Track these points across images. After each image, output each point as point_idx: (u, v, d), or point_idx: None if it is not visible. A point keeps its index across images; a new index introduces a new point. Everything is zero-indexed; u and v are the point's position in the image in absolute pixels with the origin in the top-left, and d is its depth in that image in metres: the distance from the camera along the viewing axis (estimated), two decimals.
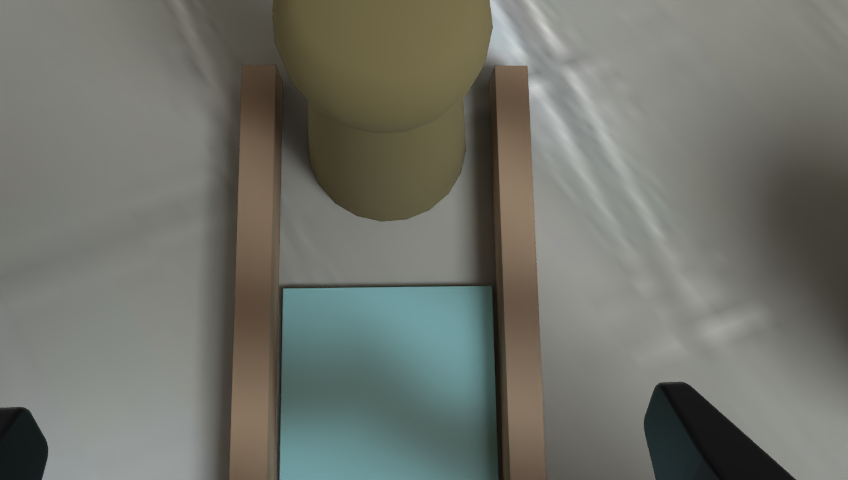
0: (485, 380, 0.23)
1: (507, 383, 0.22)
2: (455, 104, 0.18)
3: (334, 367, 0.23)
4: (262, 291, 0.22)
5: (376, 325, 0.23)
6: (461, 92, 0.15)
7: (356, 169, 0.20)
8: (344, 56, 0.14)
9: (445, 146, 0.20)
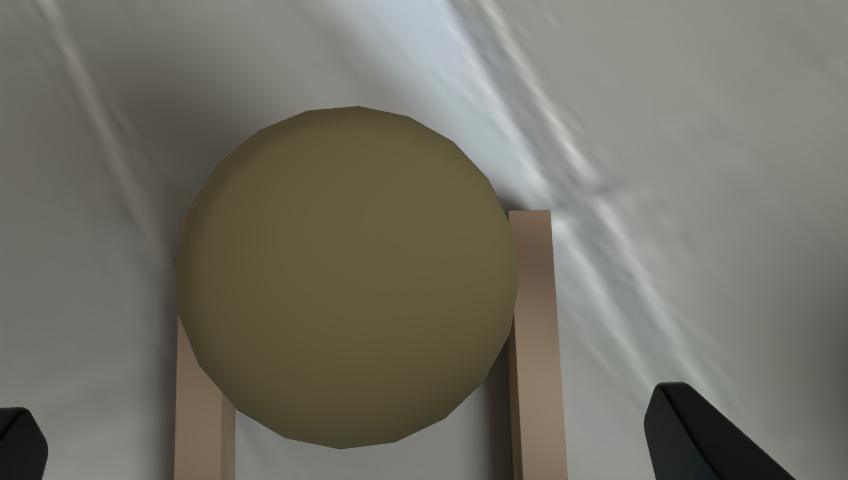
0: None
1: None
2: None
3: None
4: None
5: None
6: (473, 390, 0.10)
7: None
8: (282, 385, 0.08)
9: None
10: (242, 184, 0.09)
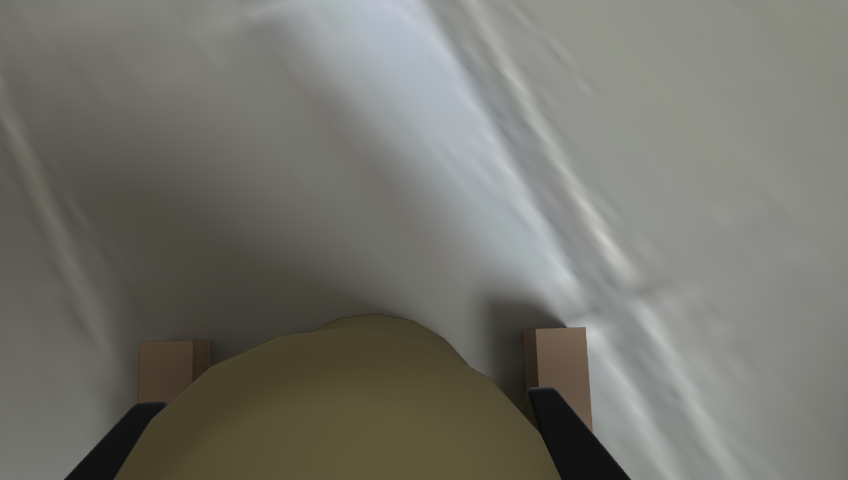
0: None
1: None
2: None
3: None
4: None
5: None
6: None
7: None
8: None
9: None
10: None
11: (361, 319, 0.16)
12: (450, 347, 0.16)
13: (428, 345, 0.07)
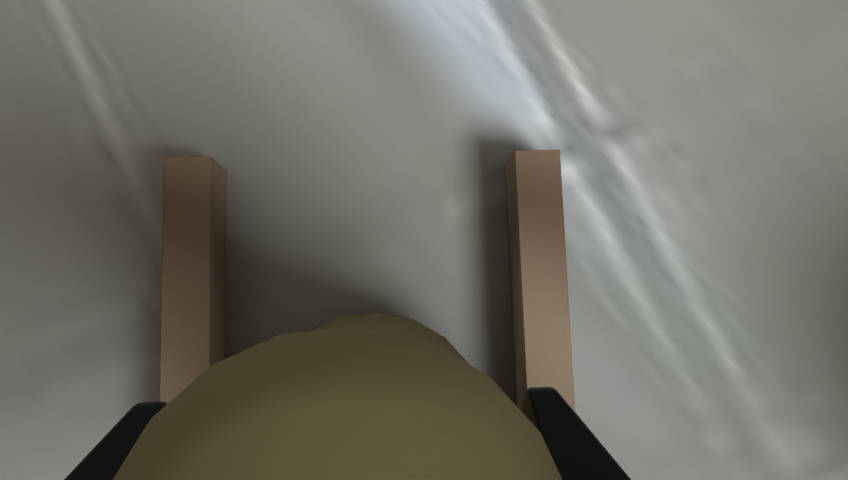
0: None
1: None
2: None
3: None
4: None
5: None
6: None
7: None
8: None
9: None
10: None
11: (361, 318, 0.16)
12: (450, 346, 0.16)
13: (428, 344, 0.07)
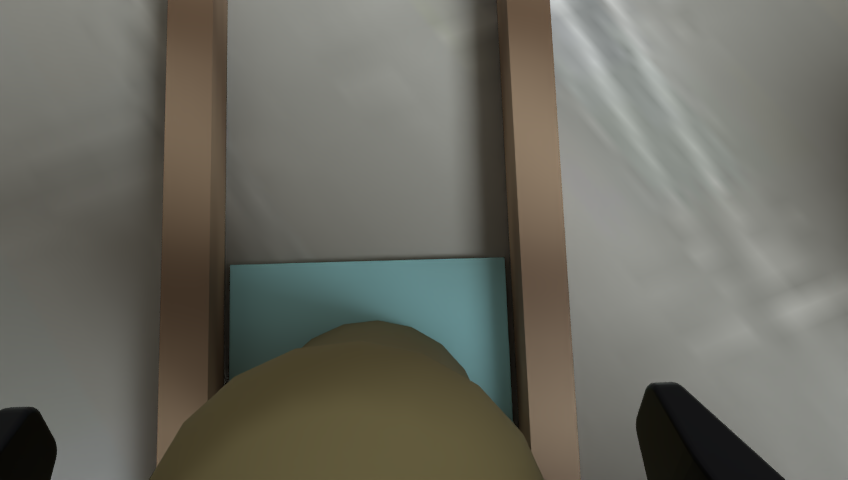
0: (498, 381, 0.18)
1: (528, 385, 0.16)
2: None
3: None
4: (198, 268, 0.16)
5: (354, 310, 0.18)
6: None
7: None
8: None
9: None
10: None
11: (362, 326, 0.17)
12: (446, 351, 0.17)
13: (424, 357, 0.08)
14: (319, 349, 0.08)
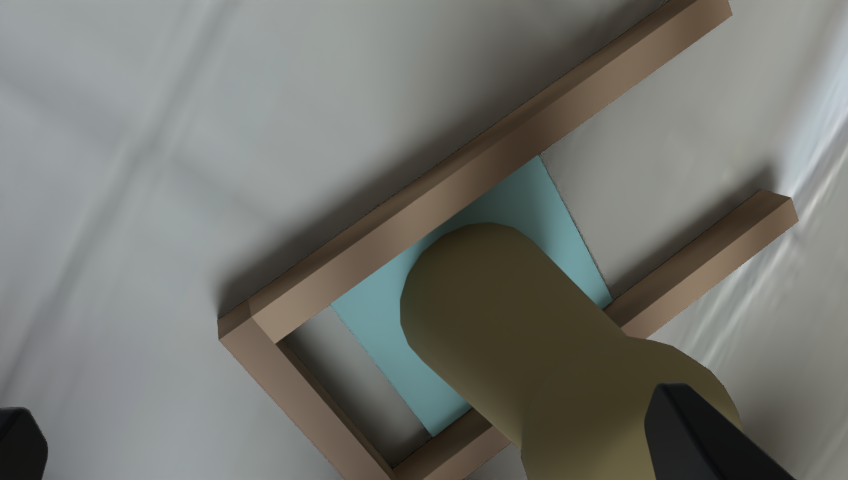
0: None
1: None
2: None
3: None
4: (541, 142, 0.21)
5: (542, 240, 0.24)
6: None
7: (461, 380, 0.19)
8: None
9: None
10: None
11: None
12: None
13: None
14: None
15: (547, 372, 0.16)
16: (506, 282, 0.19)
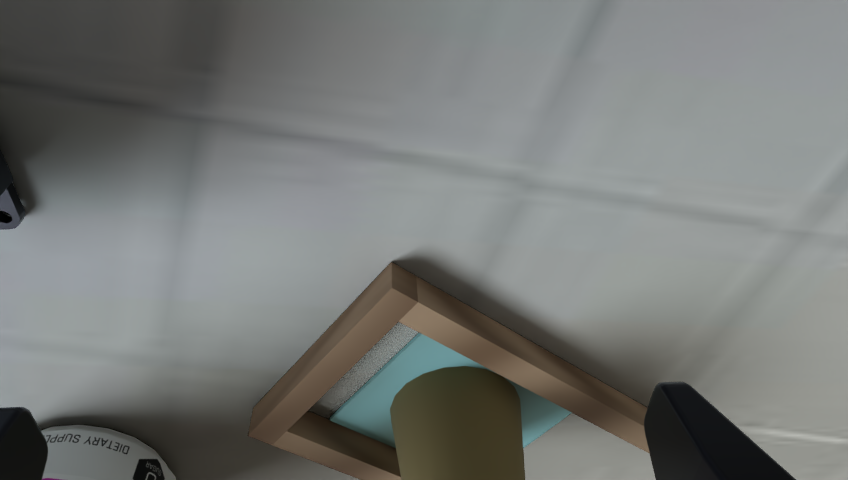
0: None
1: None
2: None
3: None
4: (596, 419, 0.28)
5: None
6: None
7: (436, 471, 0.25)
8: None
9: None
10: None
11: None
12: None
13: None
14: None
15: None
16: (514, 464, 0.26)
